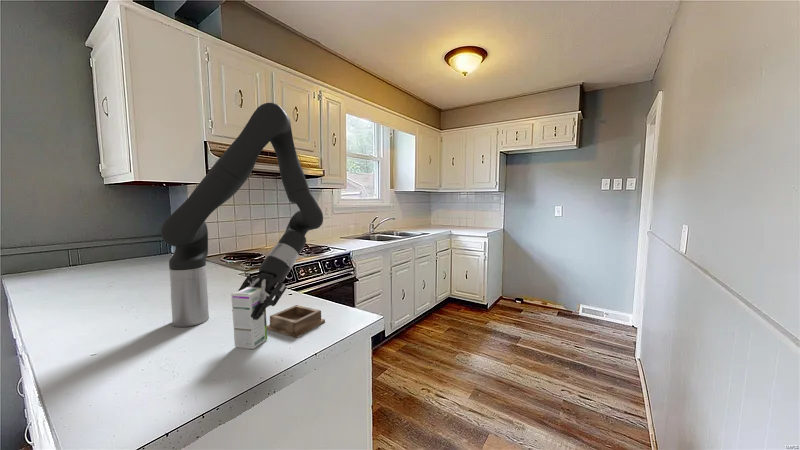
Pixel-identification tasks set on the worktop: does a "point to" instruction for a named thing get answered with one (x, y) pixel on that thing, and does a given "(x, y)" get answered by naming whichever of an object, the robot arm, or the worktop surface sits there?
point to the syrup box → (248, 319)
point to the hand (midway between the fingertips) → (244, 315)
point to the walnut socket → (295, 320)
